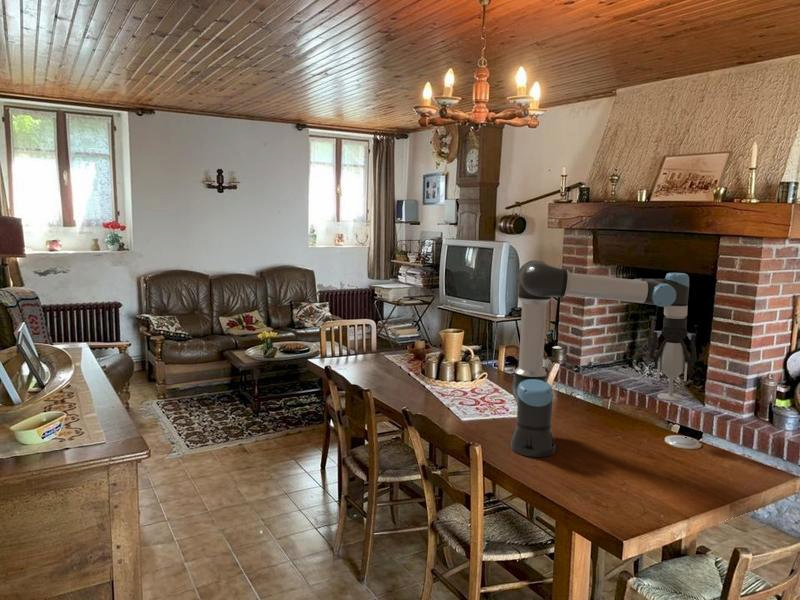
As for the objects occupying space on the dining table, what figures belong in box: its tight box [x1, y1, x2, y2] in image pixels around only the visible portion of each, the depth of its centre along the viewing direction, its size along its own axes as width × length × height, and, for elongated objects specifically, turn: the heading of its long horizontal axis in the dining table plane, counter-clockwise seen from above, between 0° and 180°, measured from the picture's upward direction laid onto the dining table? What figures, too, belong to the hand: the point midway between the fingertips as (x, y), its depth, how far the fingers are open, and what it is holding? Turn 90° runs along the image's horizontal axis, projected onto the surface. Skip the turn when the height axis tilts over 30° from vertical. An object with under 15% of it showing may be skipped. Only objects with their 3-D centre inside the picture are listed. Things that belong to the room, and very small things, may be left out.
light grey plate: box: [664, 434, 702, 450], centre depth 215 cm, size 12×12×1 cm
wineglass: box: [657, 342, 686, 403], centre depth 214 cm, size 9×9×21 cm
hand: (671, 379), depth 214 cm, fingers closed on wineglass, 8 cm apart
